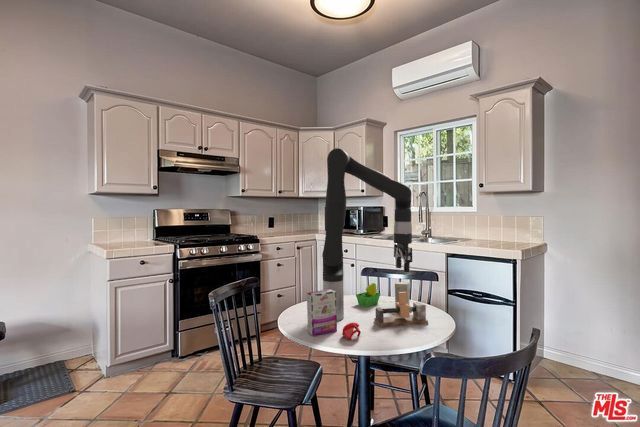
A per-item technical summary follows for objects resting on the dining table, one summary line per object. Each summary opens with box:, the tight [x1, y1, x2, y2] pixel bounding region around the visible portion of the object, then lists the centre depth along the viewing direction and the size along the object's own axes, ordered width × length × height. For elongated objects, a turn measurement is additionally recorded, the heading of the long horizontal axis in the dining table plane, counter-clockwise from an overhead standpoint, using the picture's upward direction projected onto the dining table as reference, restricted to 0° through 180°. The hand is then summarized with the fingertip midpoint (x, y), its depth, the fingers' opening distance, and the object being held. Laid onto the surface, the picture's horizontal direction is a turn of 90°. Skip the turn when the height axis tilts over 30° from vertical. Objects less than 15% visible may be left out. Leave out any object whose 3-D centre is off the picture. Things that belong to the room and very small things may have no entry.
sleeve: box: [395, 292, 411, 318], centre depth 152 cm, size 4×5×10 cm
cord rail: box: [373, 301, 429, 329], centre depth 152 cm, size 21×8×8 cm, turn 100°
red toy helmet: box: [341, 322, 362, 341], centre depth 136 cm, size 8×6×6 cm
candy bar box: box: [306, 289, 338, 337], centre depth 142 cm, size 11×5×16 cm, turn 117°
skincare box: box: [394, 281, 410, 308], centre depth 173 cm, size 6×4×12 cm
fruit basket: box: [355, 282, 381, 307], centre depth 179 cm, size 11×9×11 cm
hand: (402, 269), depth 151 cm, fingers open, 8 cm apart
